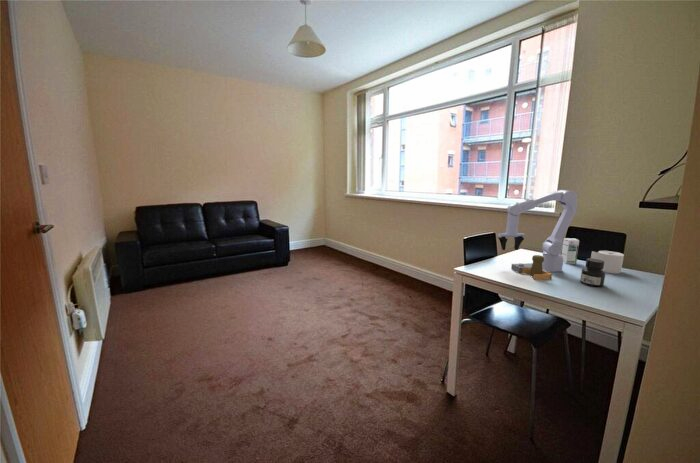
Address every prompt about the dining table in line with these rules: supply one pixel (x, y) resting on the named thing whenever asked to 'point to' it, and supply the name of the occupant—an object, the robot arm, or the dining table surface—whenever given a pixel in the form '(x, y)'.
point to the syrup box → (570, 250)
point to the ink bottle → (593, 273)
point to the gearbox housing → (526, 269)
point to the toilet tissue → (610, 260)
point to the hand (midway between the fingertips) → (509, 249)
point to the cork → (536, 265)
